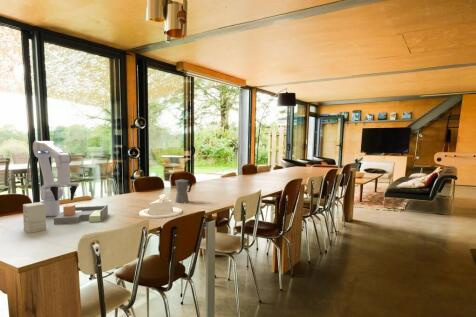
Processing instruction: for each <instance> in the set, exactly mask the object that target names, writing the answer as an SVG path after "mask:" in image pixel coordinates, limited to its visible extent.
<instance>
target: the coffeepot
mask: <svg viewBox="0 0 476 317" xmlns="http://www.w3.org/2000/svg"><path fill="white" fill-rule="evenodd" d="M174 183H175V189H176V196H175V203H176V202H177V203H176V204H185V203H184V202H187V203H188V202H189V196H188V193H190V192H191V189H192V187H193V186H192V185H193V182H192V181H191V180H188V179H184V176H180V179H177V180H176V179H175V180H174Z"/></svg>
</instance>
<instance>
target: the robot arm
mask: <svg viewBox="0 0 476 317" xmlns="http://www.w3.org/2000/svg"><path fill="white" fill-rule="evenodd" d="M55 144H56V143H55V142H54V141H53V140H41V141H40V140H34V142H32V150H33V151H32V152H33V154H34V157H36V158H37V159H38V162H39V166H40V170H41V174H42V179H43V183H44V184H43V185H41V186H40V189H39V191H40V198H41V200H40V201H39V202H41V203H44V204H45V209H46V217H53V216H54V217H56V216H58V215H59V214H61V213H62V212H63V211H61V210H60V199H61V198H63V194H64V192H63V188H69V192H70V201H72V200H74V196H75V193H76V191H77V189H78V187H80V182H71V178H70V177H71V176H70V171H71V169H70V168H71V167H70V164H71V162H72V155H71V154H70V152H64V151H63V150H62V149H61V148H60V147H56V145H55ZM51 157H52V158H53V159H54V162H55V167H56V169H57V171H56V173H57V174H56V175H57V182H56V181H55V179H54V174H53V171H52V167H51V166H52V165H51V163H50V159H49V158H51Z"/></svg>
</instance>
